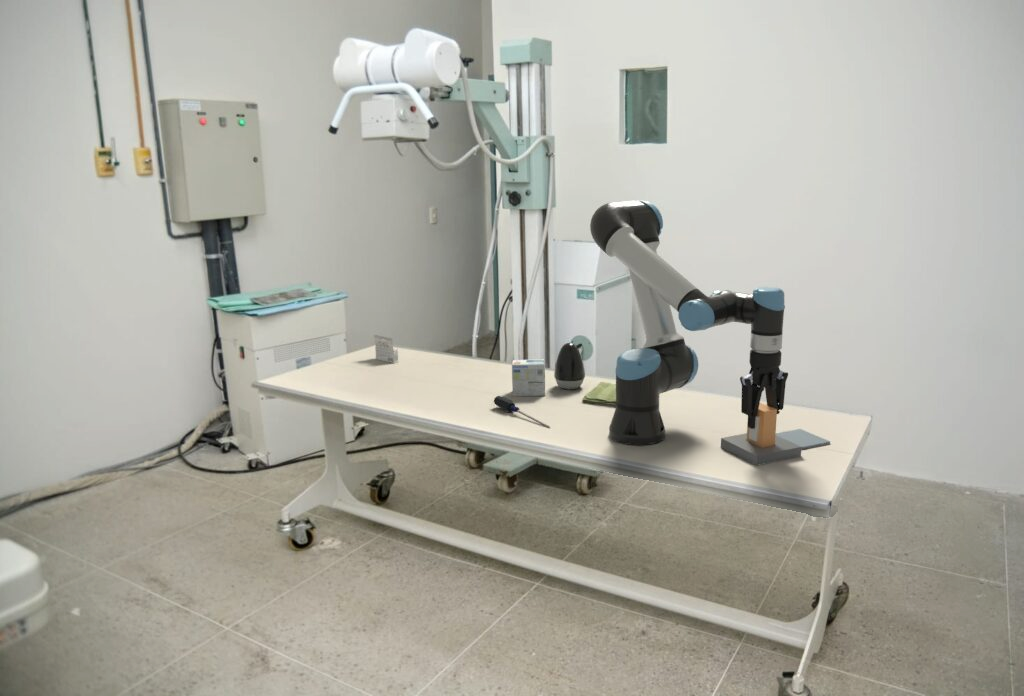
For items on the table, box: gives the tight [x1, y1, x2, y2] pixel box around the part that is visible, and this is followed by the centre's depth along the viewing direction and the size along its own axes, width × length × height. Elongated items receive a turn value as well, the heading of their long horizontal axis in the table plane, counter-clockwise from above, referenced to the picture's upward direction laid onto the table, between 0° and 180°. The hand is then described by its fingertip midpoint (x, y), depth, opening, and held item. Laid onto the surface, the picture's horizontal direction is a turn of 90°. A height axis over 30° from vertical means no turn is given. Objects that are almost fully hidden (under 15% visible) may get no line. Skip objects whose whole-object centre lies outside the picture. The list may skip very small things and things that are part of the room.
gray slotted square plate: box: [720, 432, 802, 466], centre depth 203 cm, size 14×14×2 cm
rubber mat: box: [776, 428, 831, 450], centre depth 210 cm, size 11×11×1 cm
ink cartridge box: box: [373, 334, 399, 364], centre depth 302 cm, size 2×11×10 cm, turn 48°
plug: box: [746, 402, 778, 448], centre depth 202 cm, size 4×6×12 cm, turn 23°
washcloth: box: [581, 381, 616, 406], centre depth 251 cm, size 13×18×3 cm
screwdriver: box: [493, 395, 551, 428], centre depth 234 cm, size 26×4×4 cm, turn 37°
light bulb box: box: [511, 358, 546, 397], centre depth 256 cm, size 11×7×11 cm, turn 88°
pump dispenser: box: [553, 342, 586, 390], centre depth 261 cm, size 10×10×15 cm
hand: (760, 438), depth 202 cm, fingers closed on plug, 4 cm apart
